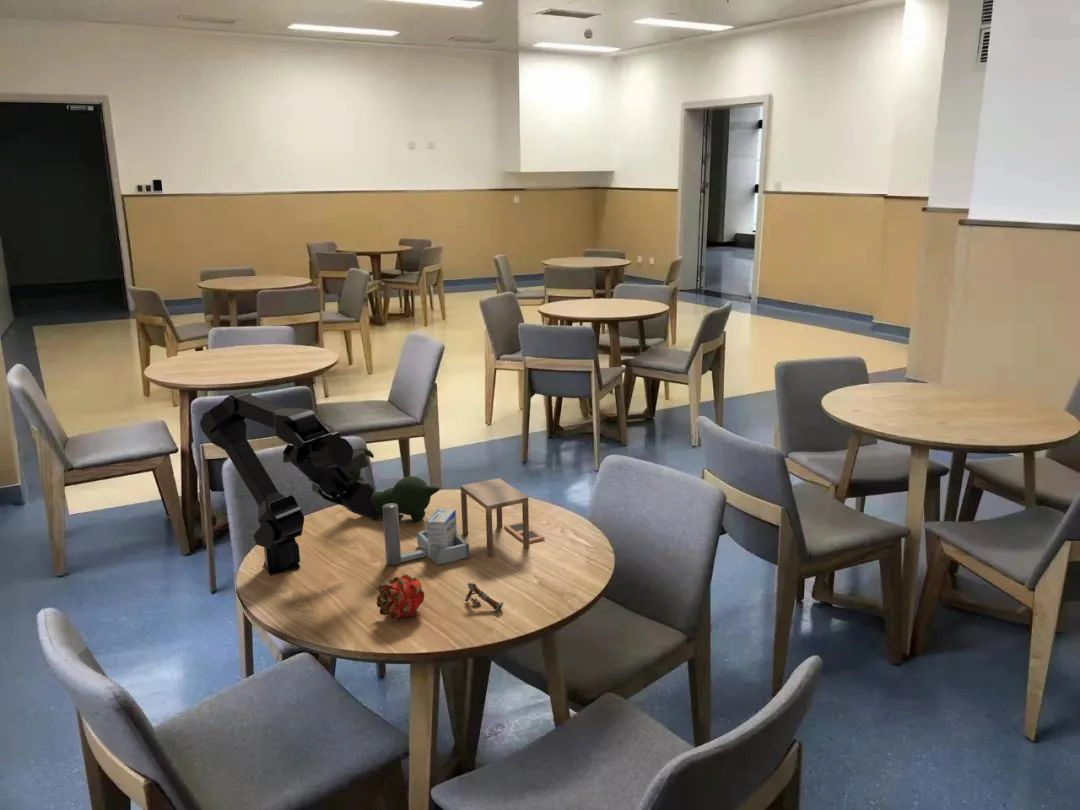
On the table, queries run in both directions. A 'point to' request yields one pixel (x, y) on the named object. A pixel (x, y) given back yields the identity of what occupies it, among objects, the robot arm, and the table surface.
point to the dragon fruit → (400, 597)
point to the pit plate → (518, 532)
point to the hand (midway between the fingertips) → (368, 513)
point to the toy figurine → (402, 494)
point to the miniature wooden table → (494, 505)
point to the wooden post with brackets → (482, 597)
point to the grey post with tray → (436, 555)
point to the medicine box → (441, 529)
